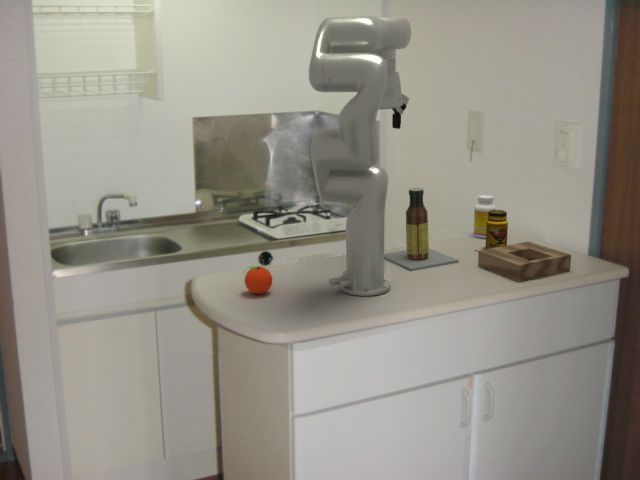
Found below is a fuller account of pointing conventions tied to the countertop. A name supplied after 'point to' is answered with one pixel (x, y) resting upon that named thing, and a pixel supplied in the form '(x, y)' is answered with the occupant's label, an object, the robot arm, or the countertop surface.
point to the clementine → (258, 279)
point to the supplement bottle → (482, 214)
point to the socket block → (524, 261)
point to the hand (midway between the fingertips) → (381, 129)
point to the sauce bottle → (417, 226)
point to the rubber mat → (410, 264)
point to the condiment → (496, 229)
